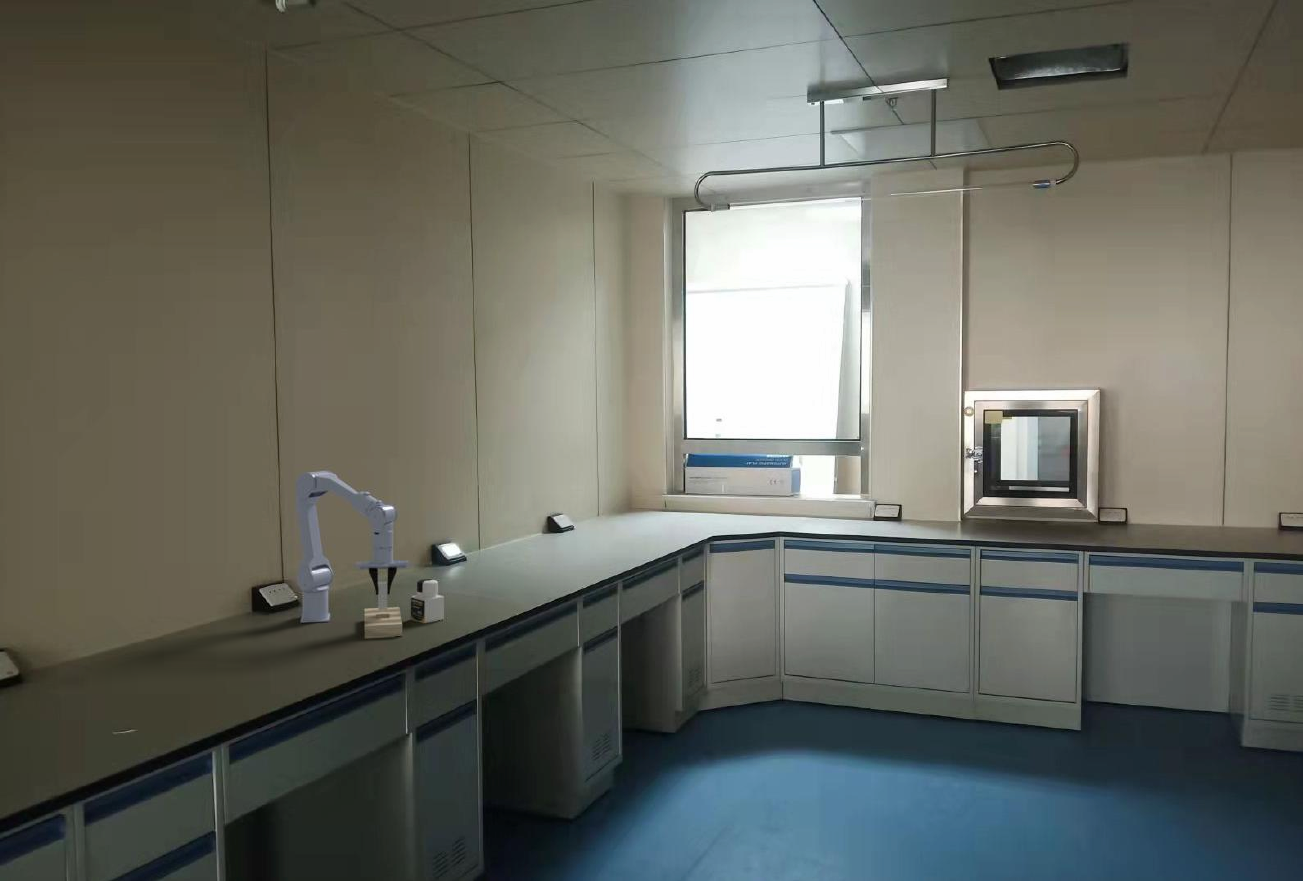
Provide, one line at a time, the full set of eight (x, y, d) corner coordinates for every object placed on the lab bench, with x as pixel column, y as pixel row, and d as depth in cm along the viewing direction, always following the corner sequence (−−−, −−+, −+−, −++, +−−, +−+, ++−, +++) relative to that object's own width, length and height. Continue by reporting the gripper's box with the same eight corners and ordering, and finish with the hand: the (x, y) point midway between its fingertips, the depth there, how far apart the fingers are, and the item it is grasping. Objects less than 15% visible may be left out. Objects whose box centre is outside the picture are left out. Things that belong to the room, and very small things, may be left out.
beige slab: (364, 620, 298) (364, 608, 297) (399, 618, 300) (399, 607, 300) (364, 638, 276) (364, 625, 276) (402, 636, 279) (402, 623, 279)
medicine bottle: (410, 619, 299) (410, 579, 299) (430, 615, 305) (430, 576, 304) (424, 623, 295) (424, 583, 294) (444, 619, 300) (444, 580, 299)
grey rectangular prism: (378, 605, 291) (378, 581, 291) (386, 605, 292) (386, 581, 291) (378, 610, 284) (378, 586, 284) (387, 610, 285) (387, 586, 284)
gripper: (356, 549, 281) (356, 597, 282) (409, 548, 285) (409, 595, 286) (356, 545, 288) (356, 592, 289) (408, 544, 292) (408, 590, 293)
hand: (382, 593), depth 288 cm, fingers closed on grey rectangular prism, 2 cm apart
